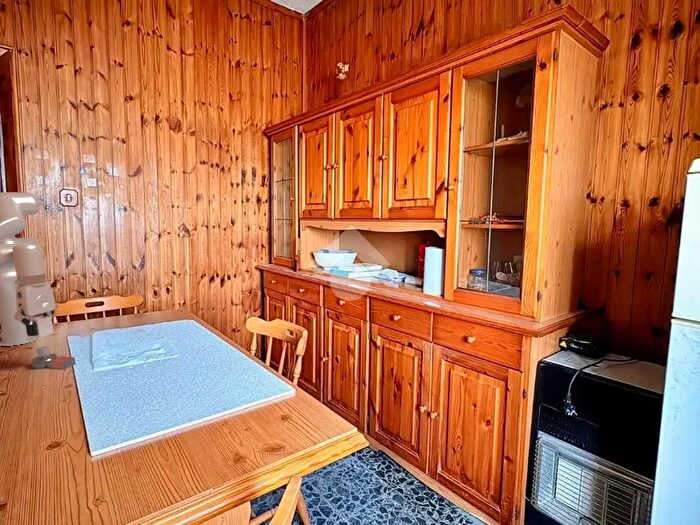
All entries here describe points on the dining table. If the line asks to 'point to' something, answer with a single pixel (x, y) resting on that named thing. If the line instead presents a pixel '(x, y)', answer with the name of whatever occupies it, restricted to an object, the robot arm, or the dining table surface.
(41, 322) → the brushed aluminum cube
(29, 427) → the dining table surface
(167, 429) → the dining table surface
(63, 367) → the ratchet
